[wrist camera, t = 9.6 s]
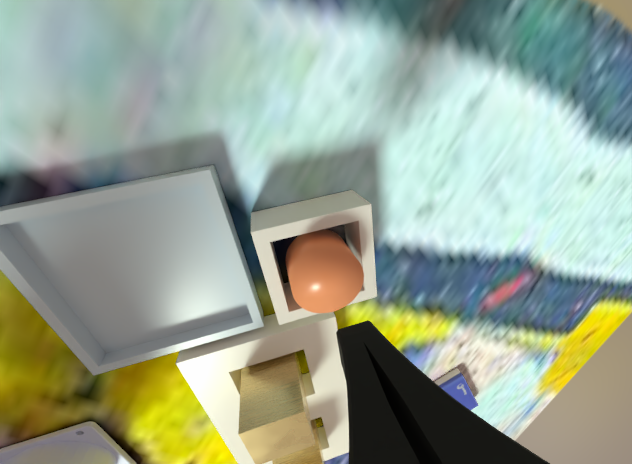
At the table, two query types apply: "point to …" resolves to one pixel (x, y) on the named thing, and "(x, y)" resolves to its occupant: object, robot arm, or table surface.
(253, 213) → the button housing
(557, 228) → the table surface
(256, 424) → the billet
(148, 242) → the tray
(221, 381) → the frame
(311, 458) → the block
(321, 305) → the button
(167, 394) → the table surface
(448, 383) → the hard drive
